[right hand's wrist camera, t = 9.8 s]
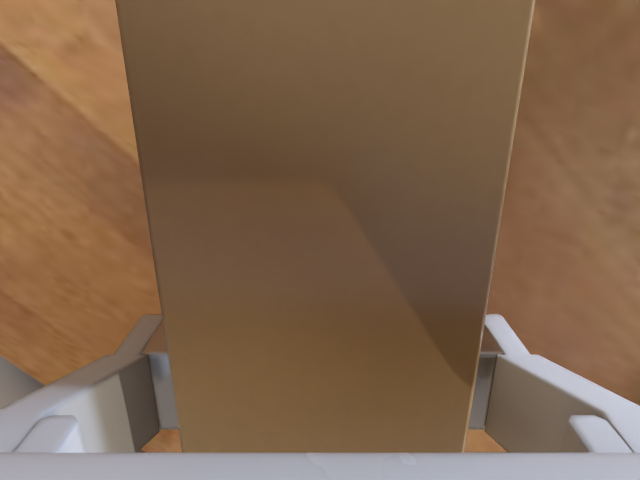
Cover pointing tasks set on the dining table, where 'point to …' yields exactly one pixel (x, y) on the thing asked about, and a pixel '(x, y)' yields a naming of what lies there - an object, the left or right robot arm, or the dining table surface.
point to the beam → (324, 211)
